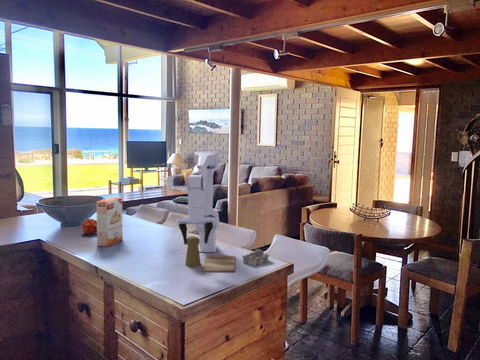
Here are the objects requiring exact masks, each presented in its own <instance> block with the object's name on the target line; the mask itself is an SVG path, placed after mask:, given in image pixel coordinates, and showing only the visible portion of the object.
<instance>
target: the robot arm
mask: <svg viewBox="0 0 480 360" xmlns="http://www.w3.org/2000/svg"><path fill="white" fill-rule="evenodd" d="M193 158H194V159H193V160H194V161H193V163H194V165H195V166H194V167H193V169H192V171H191V174H190V175H189V176H187V177H186V194H187V196H188V197H187V204H188V205H187V218H176V219H175V224H176V226H178V227H179V230H180V232H181V234H182V238H183V244H184V245H186V246H187V238H188V237H187V235H188V227H187V225H195V228H196V230H197V231H198V232H199V233H198V234H199V235H198V236H199V237H198V238H199V240H200V242H199V245H198V248H199V253H216V252H217V248H218V245H216V244H217V243H216V234H217V233H216V231H217V230H219V226H220V218H219V213H218V212H219V211H217V210H216V209H214V208H213V203H214V201H213V199H214V197H213V196H214V195H213V194H214V193H213V192H214V191H213V190H214V189H213V188H214V174H215V173H214V172H216V171H218V170H219V169H218V168H219V152H218V151H217V150H216V151H199V150H196V151H195V152H194V156H193Z"/></svg>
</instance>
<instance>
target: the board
mask: <svg viewBox="0 0 480 360" xmlns="http://www.w3.org/2000/svg"><path fill="white" fill-rule="evenodd" d="M235 265H236V255H206V257H205V259H204V263H203V266H202V270H201V272H203V273H235Z"/></svg>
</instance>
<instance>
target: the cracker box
mask: <svg viewBox="0 0 480 360" xmlns="http://www.w3.org/2000/svg"><path fill="white" fill-rule="evenodd" d="M95 204H96V221H97V233H96V247H97V246H98V247H110V246H113V245H114V244H117V243H118V242H121V241H123V198H122V197H109V198H105V199H102V200H98V201H96V202H95Z"/></svg>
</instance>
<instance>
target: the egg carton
mask: <svg viewBox="0 0 480 360" xmlns="http://www.w3.org/2000/svg"><path fill="white" fill-rule="evenodd" d="M269 256H271V254H267V253H265V252H264V250H261V248H256V249H254V250H253V252H252V251H251V252H250V253H246V254H245V255H241V257H242V263H243V264H248V266H256V265H257V264H260V265H262V264H263V263H265V262H266V263H268V262H269Z"/></svg>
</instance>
